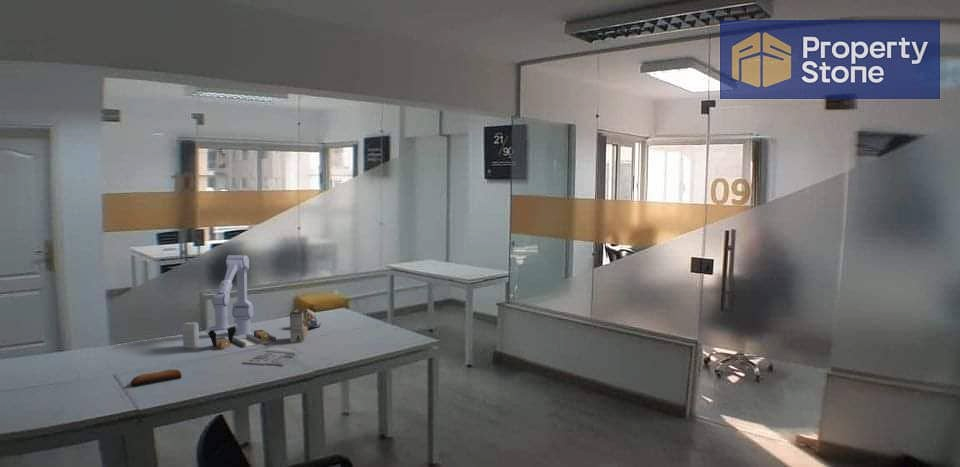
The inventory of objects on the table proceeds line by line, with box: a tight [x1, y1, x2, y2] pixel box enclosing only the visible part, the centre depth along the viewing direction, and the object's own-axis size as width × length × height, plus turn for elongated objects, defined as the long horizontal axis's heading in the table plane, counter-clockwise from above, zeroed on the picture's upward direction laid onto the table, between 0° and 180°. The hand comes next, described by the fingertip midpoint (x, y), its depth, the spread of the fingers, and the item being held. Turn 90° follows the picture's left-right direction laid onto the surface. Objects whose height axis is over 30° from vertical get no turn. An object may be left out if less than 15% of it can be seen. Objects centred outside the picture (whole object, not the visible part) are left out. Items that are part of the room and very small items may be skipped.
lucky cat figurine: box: [306, 308, 322, 329], centre depth 319 cm, size 15×12×14 cm
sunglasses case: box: [130, 369, 182, 388], centre depth 234 cm, size 18×7×7 cm
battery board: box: [232, 333, 277, 348], centre depth 291 cm, size 15×16×3 cm
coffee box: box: [289, 308, 309, 343], centre depth 293 cm, size 9×6×16 cm
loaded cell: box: [253, 329, 270, 342], centre depth 293 cm, size 10×4×4 cm, turn 45°
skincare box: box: [182, 321, 200, 349], centre depth 281 cm, size 6×4×12 cm
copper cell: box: [215, 336, 231, 351], centre depth 281 cm, size 10×4×4 cm, turn 44°
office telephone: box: [242, 347, 303, 367], centre depth 266 cm, size 23×3×20 cm
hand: (222, 344), depth 281 cm, fingers open, 7 cm apart
